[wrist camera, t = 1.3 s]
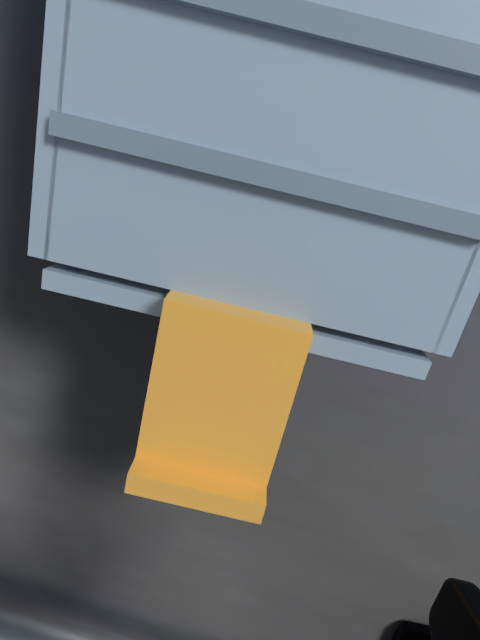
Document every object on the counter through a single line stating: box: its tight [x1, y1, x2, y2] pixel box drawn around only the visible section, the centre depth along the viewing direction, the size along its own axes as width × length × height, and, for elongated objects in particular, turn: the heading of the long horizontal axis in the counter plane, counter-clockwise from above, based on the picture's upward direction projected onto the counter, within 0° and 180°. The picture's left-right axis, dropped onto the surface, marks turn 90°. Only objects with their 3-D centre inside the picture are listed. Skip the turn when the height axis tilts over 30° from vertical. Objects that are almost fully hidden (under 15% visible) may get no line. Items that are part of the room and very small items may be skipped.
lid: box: [27, 0, 480, 524], centre depth 10 cm, size 17×11×3 cm, turn 167°
